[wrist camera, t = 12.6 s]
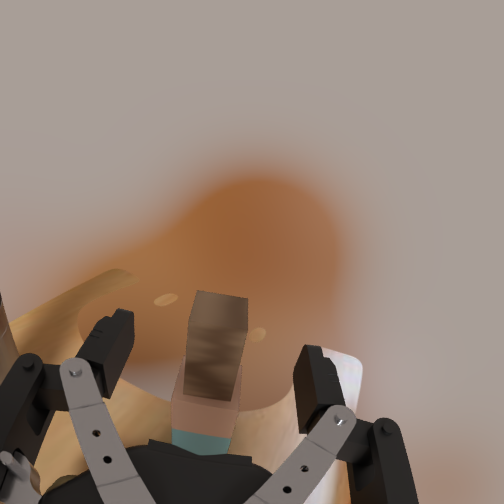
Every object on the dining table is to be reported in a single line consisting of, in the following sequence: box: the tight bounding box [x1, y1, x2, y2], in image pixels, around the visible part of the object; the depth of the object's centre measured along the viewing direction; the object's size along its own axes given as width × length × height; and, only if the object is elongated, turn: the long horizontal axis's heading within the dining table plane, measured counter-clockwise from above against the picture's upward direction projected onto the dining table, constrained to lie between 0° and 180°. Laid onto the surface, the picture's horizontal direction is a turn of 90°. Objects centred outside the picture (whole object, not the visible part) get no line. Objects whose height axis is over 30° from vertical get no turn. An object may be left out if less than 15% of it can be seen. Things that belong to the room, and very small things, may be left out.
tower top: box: [171, 355, 242, 439], centre depth 32 cm, size 7×7×6 cm
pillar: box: [183, 290, 248, 402], centre depth 29 cm, size 5×5×10 cm
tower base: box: [172, 428, 232, 455], centre depth 35 cm, size 7×7×6 cm
